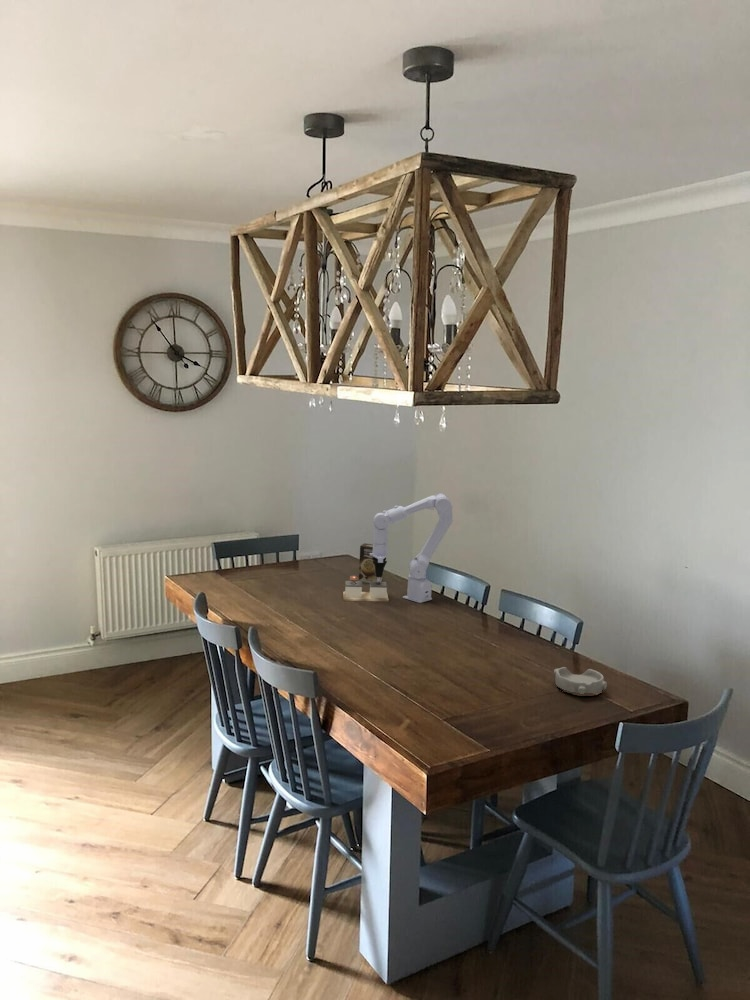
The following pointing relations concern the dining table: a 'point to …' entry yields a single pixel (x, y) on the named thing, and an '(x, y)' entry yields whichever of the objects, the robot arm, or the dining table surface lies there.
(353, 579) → the plunger
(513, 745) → the dining table surface
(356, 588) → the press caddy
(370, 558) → the coffee box
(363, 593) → the serving board
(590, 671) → the dish
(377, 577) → the plunger
